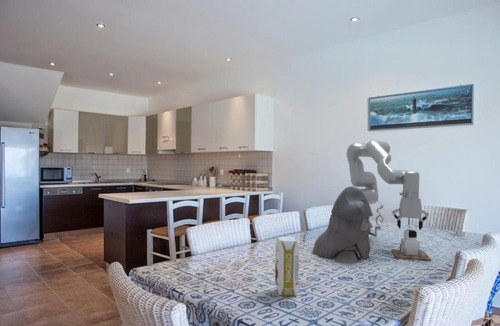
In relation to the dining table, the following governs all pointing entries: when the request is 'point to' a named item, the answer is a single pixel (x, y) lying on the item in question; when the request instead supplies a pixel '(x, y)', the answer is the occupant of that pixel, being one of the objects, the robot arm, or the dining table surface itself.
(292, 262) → the juice carton
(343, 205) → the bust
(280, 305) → the dining table surface
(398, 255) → the wooden peg board
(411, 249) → the white capped block
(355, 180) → the robot arm
